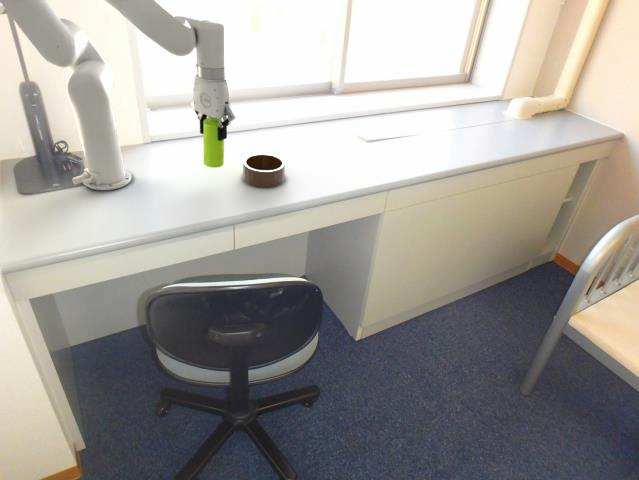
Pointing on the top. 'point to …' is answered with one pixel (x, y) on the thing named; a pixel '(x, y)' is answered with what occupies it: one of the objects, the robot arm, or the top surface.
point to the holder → (263, 170)
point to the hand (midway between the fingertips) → (213, 135)
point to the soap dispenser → (212, 144)
